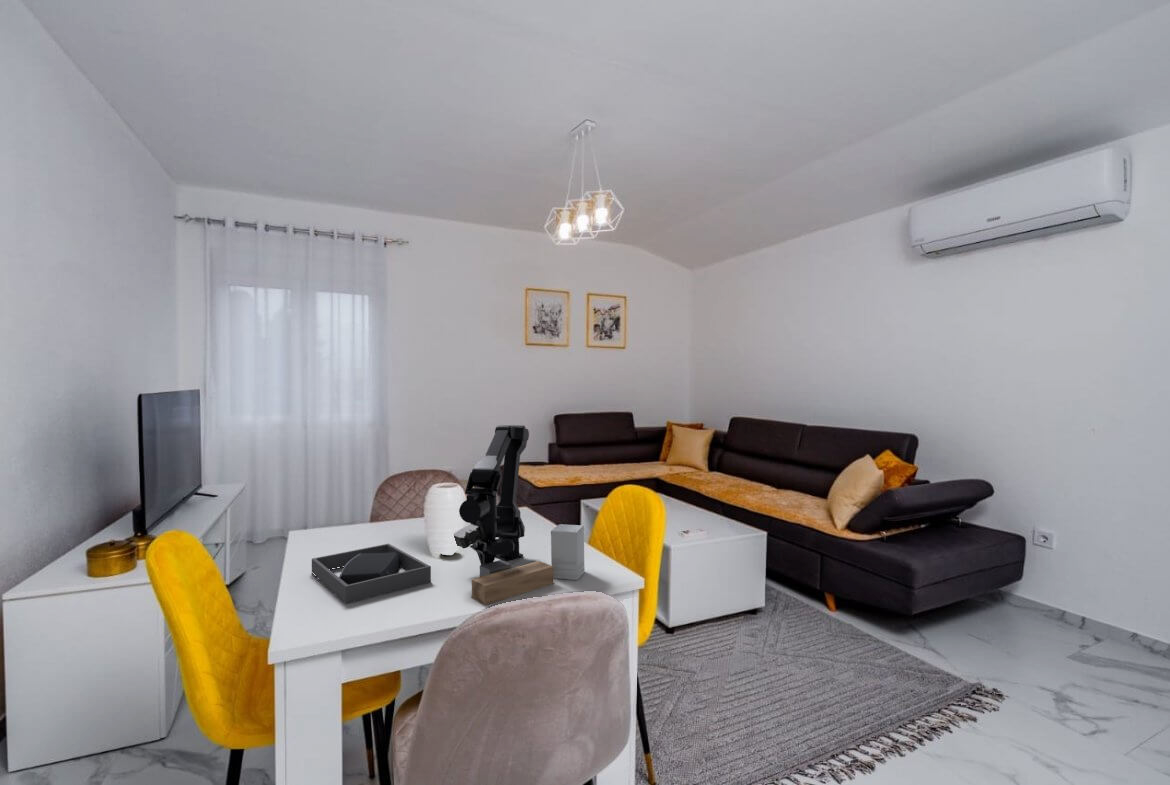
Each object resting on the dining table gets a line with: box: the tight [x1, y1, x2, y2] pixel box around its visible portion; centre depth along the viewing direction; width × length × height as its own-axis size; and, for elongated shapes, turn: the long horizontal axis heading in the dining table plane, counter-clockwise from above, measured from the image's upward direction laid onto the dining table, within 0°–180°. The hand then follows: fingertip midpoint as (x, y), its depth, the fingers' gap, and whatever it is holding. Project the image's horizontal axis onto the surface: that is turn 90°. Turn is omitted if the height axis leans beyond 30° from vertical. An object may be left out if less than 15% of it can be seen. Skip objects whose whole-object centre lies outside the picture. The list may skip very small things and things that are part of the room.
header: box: [471, 560, 554, 606], centre depth 132 cm, size 11×20×4 cm, turn 132°
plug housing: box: [479, 559, 512, 577], centre depth 137 cm, size 5×6×4 cm
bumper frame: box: [311, 543, 432, 605], centre depth 140 cm, size 28×21×4 cm
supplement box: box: [550, 523, 586, 581], centre depth 141 cm, size 7×7×13 cm
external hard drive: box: [338, 552, 400, 585], centre depth 140 cm, size 13×19×4 cm
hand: (485, 572), depth 140 cm, fingers closed
